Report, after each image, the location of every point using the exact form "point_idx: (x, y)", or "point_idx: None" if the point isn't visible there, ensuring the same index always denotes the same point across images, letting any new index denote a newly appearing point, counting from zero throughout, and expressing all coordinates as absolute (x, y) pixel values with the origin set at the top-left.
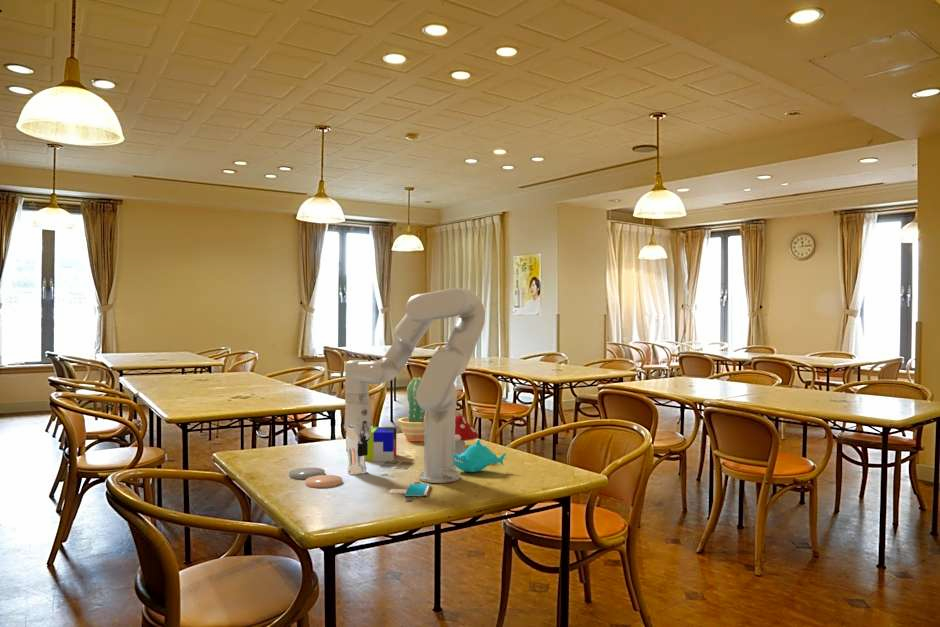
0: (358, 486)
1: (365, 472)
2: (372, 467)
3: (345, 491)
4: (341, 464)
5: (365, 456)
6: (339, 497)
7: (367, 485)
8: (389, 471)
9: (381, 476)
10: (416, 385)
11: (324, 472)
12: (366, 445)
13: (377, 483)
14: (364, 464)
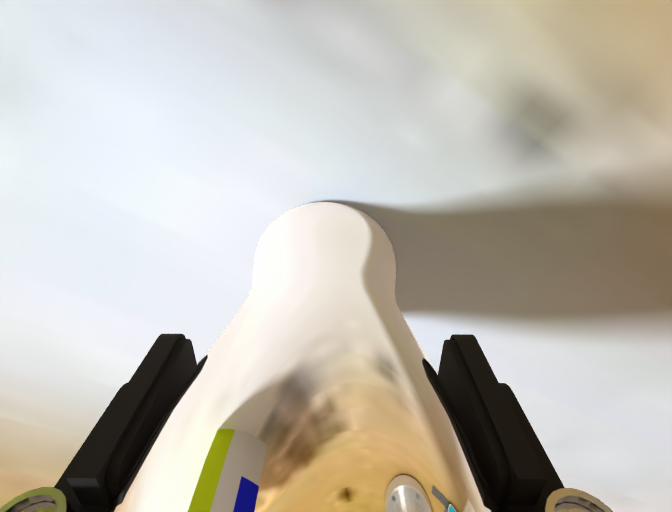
0: (603, 389)
1: (384, 232)
2: (231, 73)
3: (611, 455)
4: (13, 238)
5: (381, 292)
6: (656, 495)
7: (634, 351)
8: (475, 15)
9: (551, 179)
10: None
11: None
12: (522, 450)
13: (661, 292)
14: (383, 267)
